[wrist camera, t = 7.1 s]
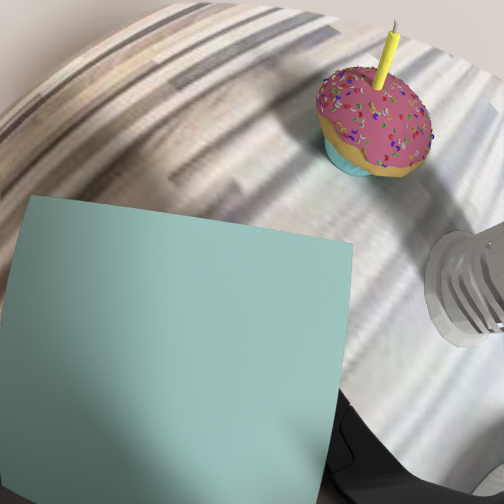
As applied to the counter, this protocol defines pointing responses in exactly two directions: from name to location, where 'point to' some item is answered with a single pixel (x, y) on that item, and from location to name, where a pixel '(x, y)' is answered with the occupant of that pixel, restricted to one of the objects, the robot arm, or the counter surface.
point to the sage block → (168, 358)
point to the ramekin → (491, 483)
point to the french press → (467, 285)
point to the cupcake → (373, 119)
